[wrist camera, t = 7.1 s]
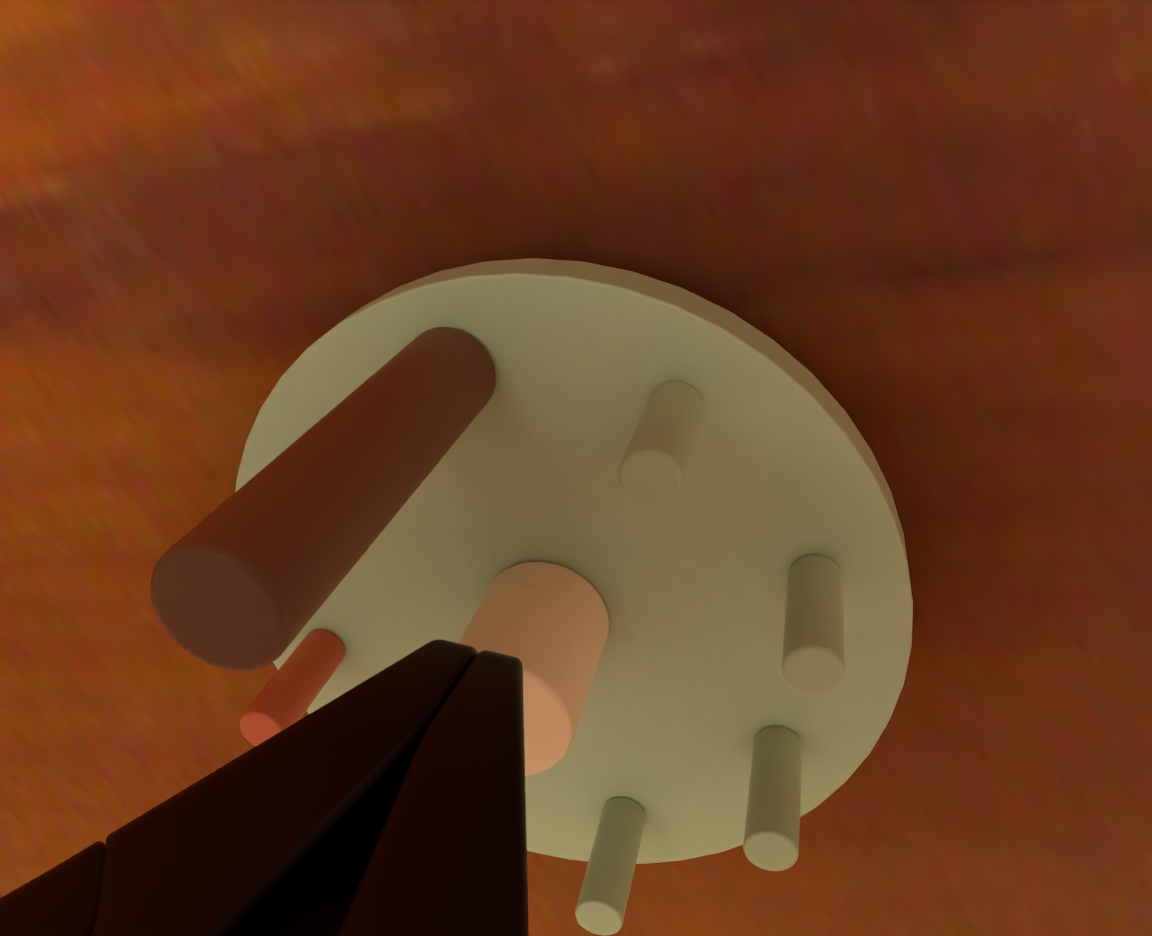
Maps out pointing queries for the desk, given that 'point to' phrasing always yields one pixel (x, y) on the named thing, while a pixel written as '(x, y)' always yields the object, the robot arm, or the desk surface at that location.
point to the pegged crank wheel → (572, 553)
